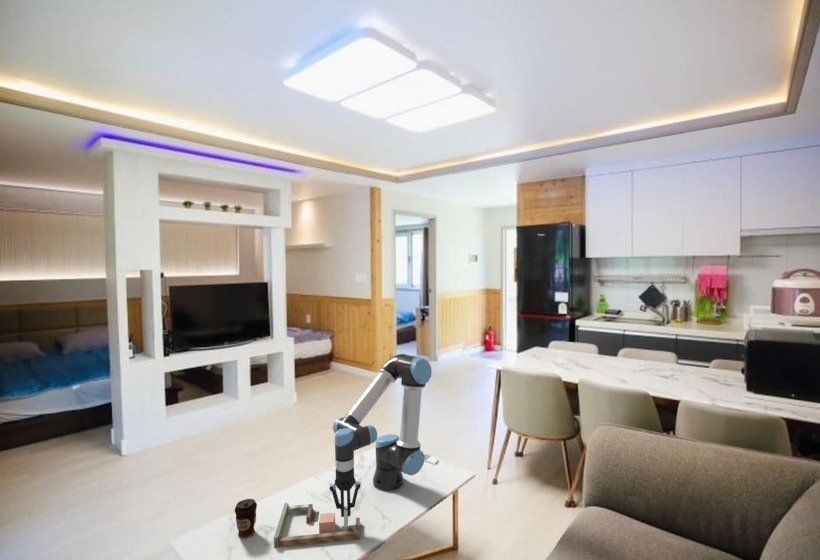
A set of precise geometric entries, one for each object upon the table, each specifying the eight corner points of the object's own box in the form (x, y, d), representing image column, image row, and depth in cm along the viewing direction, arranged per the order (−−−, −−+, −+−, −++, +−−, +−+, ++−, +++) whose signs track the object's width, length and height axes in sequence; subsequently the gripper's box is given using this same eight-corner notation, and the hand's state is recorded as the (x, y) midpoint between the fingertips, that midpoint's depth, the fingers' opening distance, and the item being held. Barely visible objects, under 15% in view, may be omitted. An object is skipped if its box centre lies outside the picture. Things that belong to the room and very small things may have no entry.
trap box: (359, 505, 186) (359, 496, 186) (359, 539, 163) (359, 529, 163) (285, 511, 182) (284, 503, 182) (274, 547, 159) (273, 537, 159)
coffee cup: (249, 542, 163) (248, 510, 162) (230, 540, 164) (229, 508, 164) (261, 528, 171) (260, 498, 170) (243, 526, 173) (242, 496, 172)
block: (335, 524, 173) (335, 512, 173) (334, 533, 167) (333, 521, 167) (320, 525, 172) (320, 513, 172) (319, 534, 166) (318, 522, 166)
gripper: (360, 462, 173) (361, 516, 174) (329, 464, 172) (330, 519, 173) (360, 471, 166) (361, 527, 167) (327, 473, 164) (329, 530, 165)
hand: (346, 523), depth 170 cm, fingers closed
